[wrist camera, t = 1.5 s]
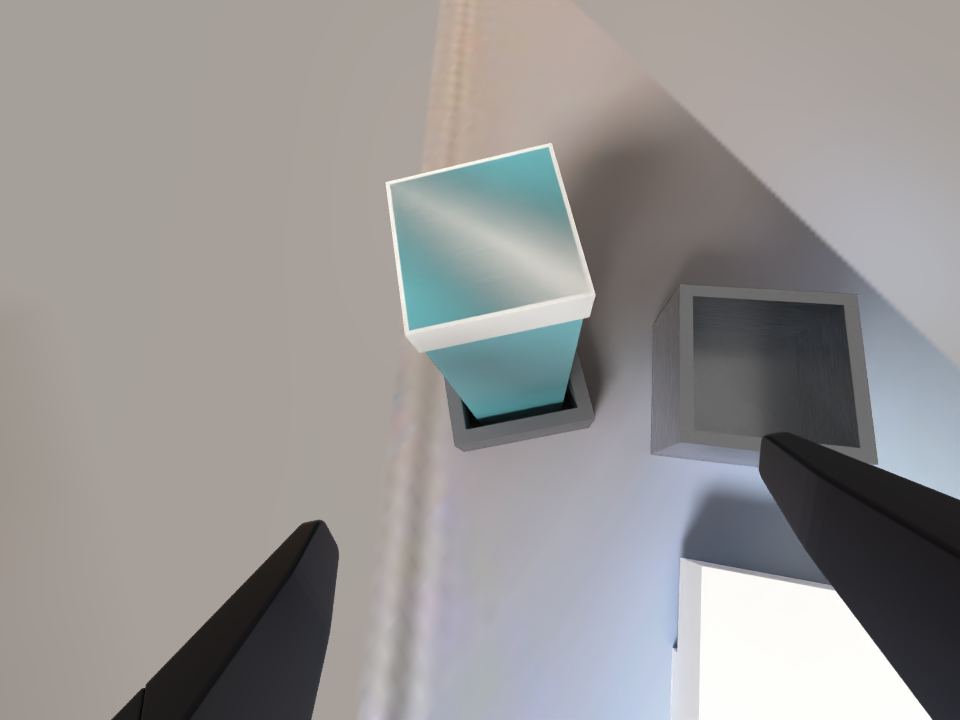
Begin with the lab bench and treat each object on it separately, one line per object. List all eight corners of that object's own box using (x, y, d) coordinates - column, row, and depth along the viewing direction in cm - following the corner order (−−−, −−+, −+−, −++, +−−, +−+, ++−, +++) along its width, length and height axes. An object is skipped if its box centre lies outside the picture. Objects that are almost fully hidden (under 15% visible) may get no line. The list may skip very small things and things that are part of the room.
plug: (563, 411, 22) (595, 295, 9) (480, 427, 22) (405, 335, 10) (545, 333, 23) (551, 142, 11) (466, 350, 23) (385, 182, 11)
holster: (589, 427, 21) (595, 418, 19) (463, 451, 22) (454, 445, 19) (559, 312, 23) (561, 291, 21) (445, 336, 24) (435, 318, 21)
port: (804, 472, 19) (878, 464, 15) (650, 454, 20) (679, 442, 16) (793, 335, 21) (856, 294, 17) (653, 325, 22) (679, 284, 18)
